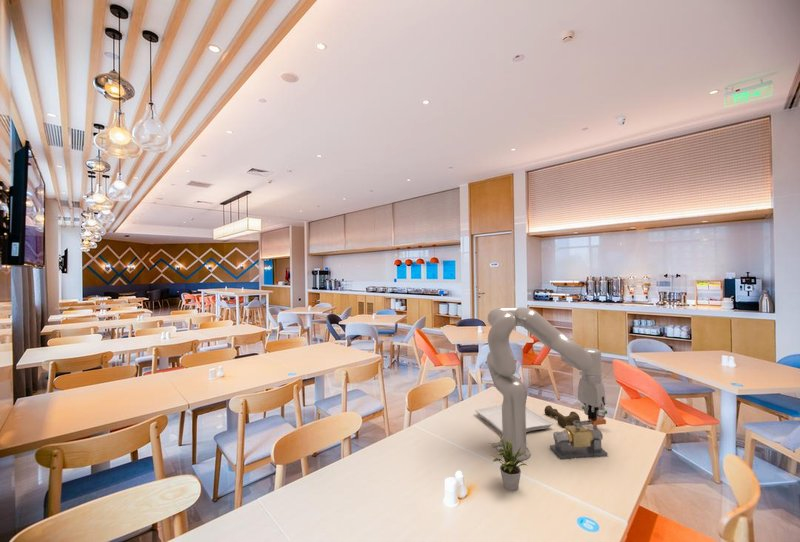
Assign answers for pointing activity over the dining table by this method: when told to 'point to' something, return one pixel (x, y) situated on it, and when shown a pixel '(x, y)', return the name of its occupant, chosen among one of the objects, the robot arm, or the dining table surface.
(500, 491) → the dining table surface
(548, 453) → the dining table surface
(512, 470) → the house plant
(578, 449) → the ball valve
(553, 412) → the kendama
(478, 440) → the dining table surface
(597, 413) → the mechanical component
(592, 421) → the lever
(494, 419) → the square plate
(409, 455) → the dining table surface
